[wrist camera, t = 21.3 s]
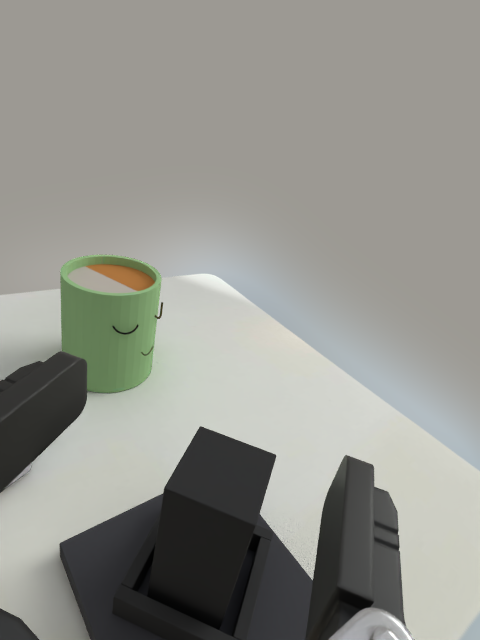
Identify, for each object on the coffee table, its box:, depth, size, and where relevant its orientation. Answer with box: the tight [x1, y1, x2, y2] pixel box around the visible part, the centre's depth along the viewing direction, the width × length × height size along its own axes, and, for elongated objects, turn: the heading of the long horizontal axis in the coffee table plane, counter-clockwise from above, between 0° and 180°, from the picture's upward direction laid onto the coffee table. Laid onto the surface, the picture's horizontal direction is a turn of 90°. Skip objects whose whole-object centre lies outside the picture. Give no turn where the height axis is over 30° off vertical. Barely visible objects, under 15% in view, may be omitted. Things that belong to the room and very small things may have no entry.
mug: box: [60, 255, 163, 393], centre depth 46 cm, size 13×10×12 cm
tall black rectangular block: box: [147, 427, 276, 630], centre depth 25 cm, size 5×5×11 cm
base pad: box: [60, 493, 313, 640], centre depth 27 cm, size 14×14×4 cm
